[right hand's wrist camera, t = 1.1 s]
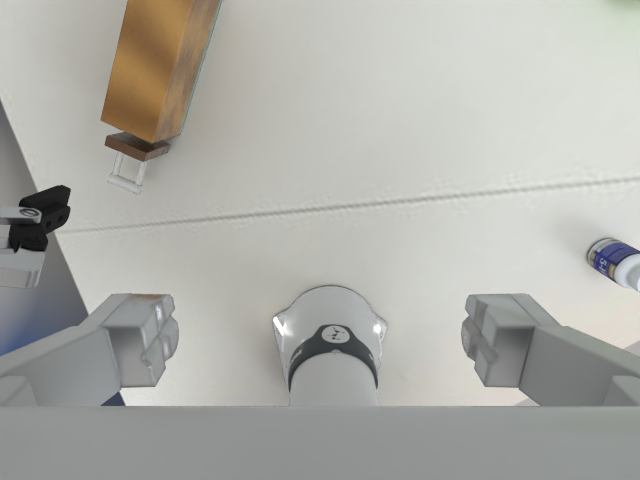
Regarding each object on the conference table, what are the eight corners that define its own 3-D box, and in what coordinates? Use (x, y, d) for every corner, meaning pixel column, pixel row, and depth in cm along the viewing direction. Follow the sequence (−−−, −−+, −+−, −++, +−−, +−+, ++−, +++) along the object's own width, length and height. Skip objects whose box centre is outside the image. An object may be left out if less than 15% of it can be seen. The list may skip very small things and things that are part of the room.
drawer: (157, 186, 52) (132, 201, 45) (124, 173, 51) (94, 185, 44) (206, 26, 44) (185, 14, 38) (168, 7, 44) (140, -8, 37)
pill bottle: (580, 251, 56) (625, 279, 48) (613, 231, 55) (665, 255, 47) (595, 275, 58) (641, 306, 50) (627, 256, 57) (680, 284, 48)
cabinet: (180, 134, 50) (152, 143, 42) (137, 115, 49) (99, 120, 41) (223, -4, 44) (200, -26, 36) (175, -29, 43) (140, -58, 35)
